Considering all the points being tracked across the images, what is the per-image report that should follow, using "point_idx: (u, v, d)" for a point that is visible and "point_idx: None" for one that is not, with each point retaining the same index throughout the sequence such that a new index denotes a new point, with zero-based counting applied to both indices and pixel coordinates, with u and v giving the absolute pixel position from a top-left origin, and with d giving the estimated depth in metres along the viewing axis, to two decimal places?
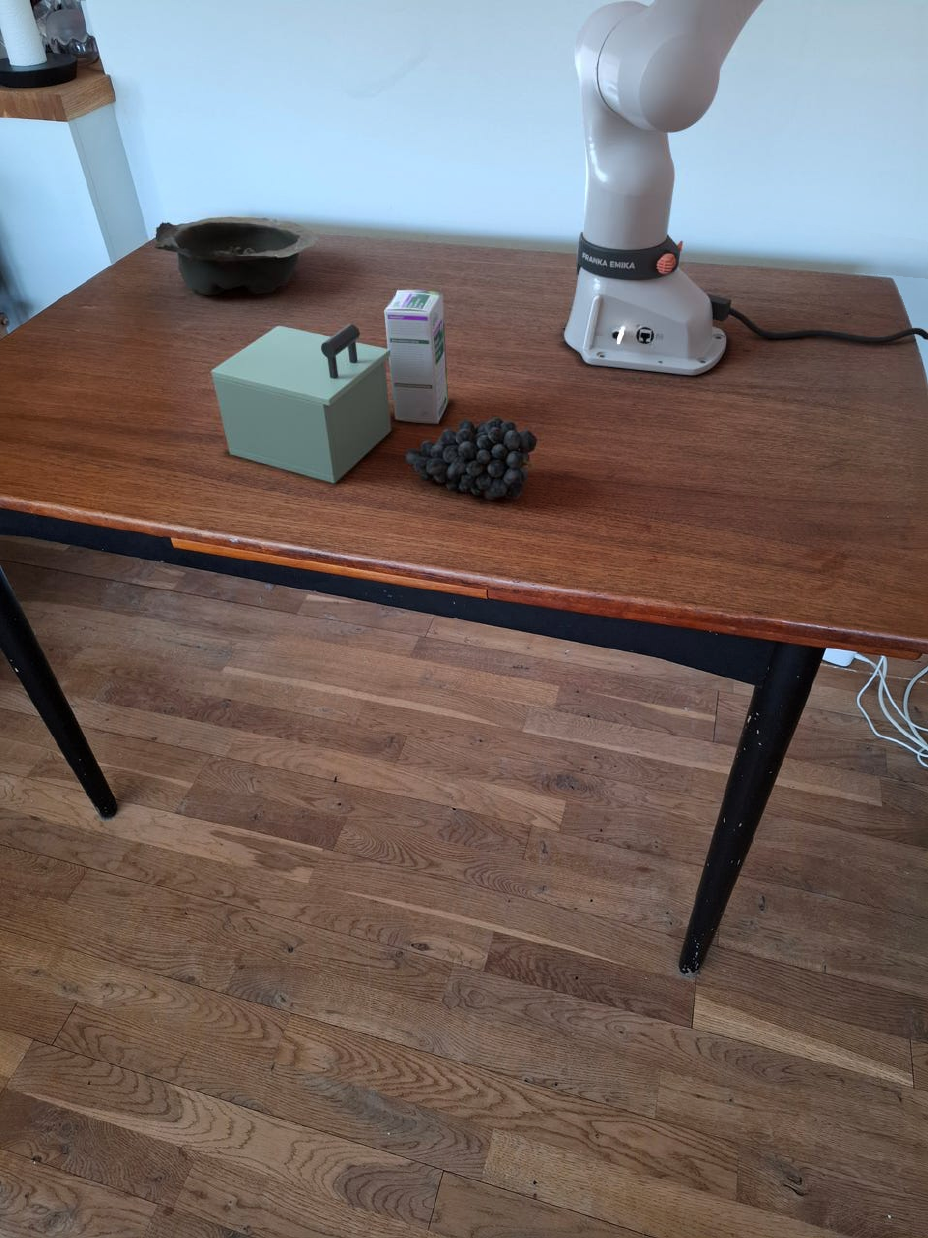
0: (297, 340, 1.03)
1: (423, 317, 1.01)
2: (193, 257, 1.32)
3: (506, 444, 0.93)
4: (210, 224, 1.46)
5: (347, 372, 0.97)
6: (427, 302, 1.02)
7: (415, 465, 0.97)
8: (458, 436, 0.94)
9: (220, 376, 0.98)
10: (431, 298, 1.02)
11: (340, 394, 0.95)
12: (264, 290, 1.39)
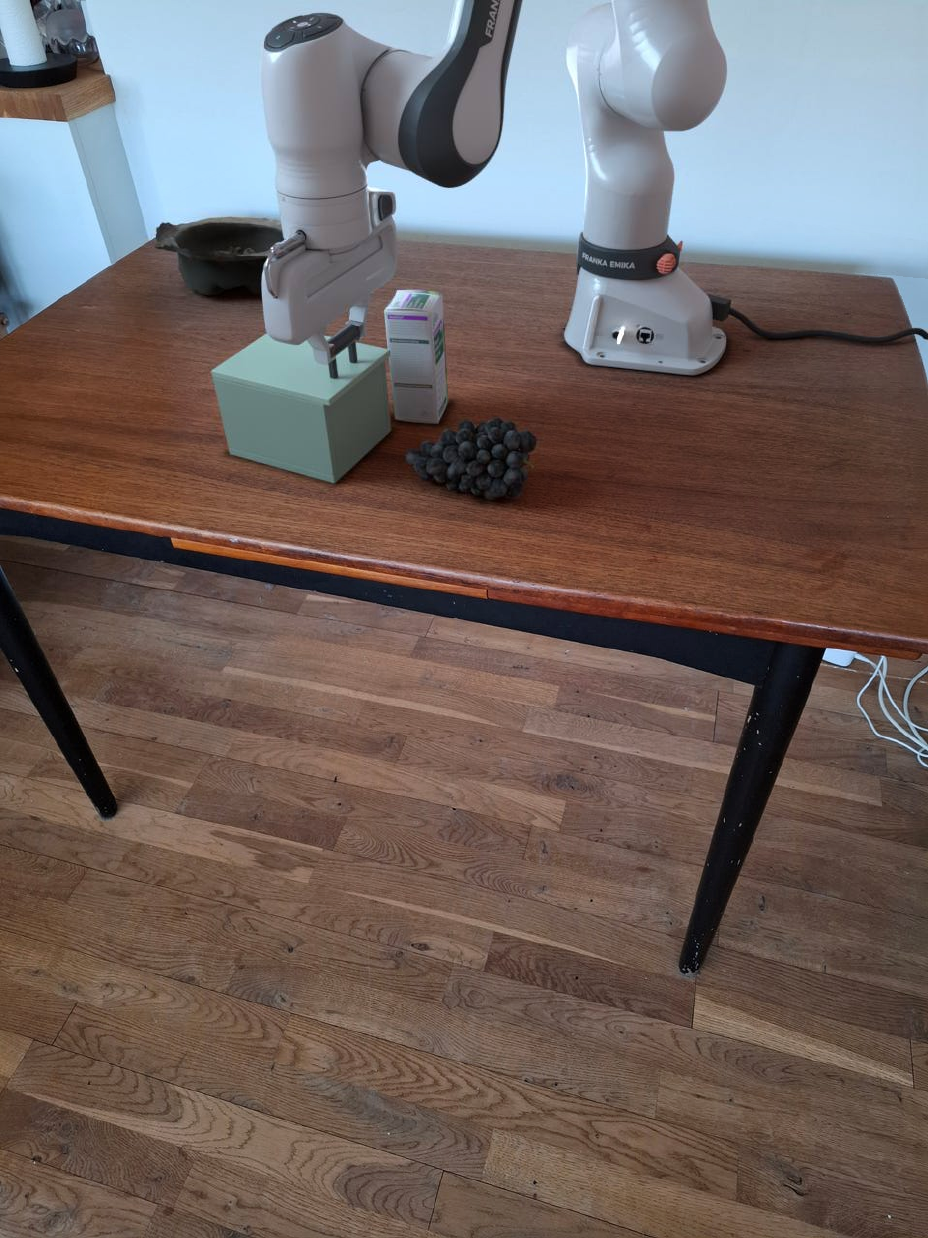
0: None
1: (423, 317, 1.01)
2: (193, 257, 1.32)
3: (506, 444, 0.93)
4: (210, 225, 1.46)
5: (347, 372, 0.97)
6: (427, 302, 1.02)
7: (415, 465, 0.97)
8: (458, 436, 0.94)
9: (220, 376, 0.98)
10: (431, 298, 1.02)
11: (340, 394, 0.95)
12: None
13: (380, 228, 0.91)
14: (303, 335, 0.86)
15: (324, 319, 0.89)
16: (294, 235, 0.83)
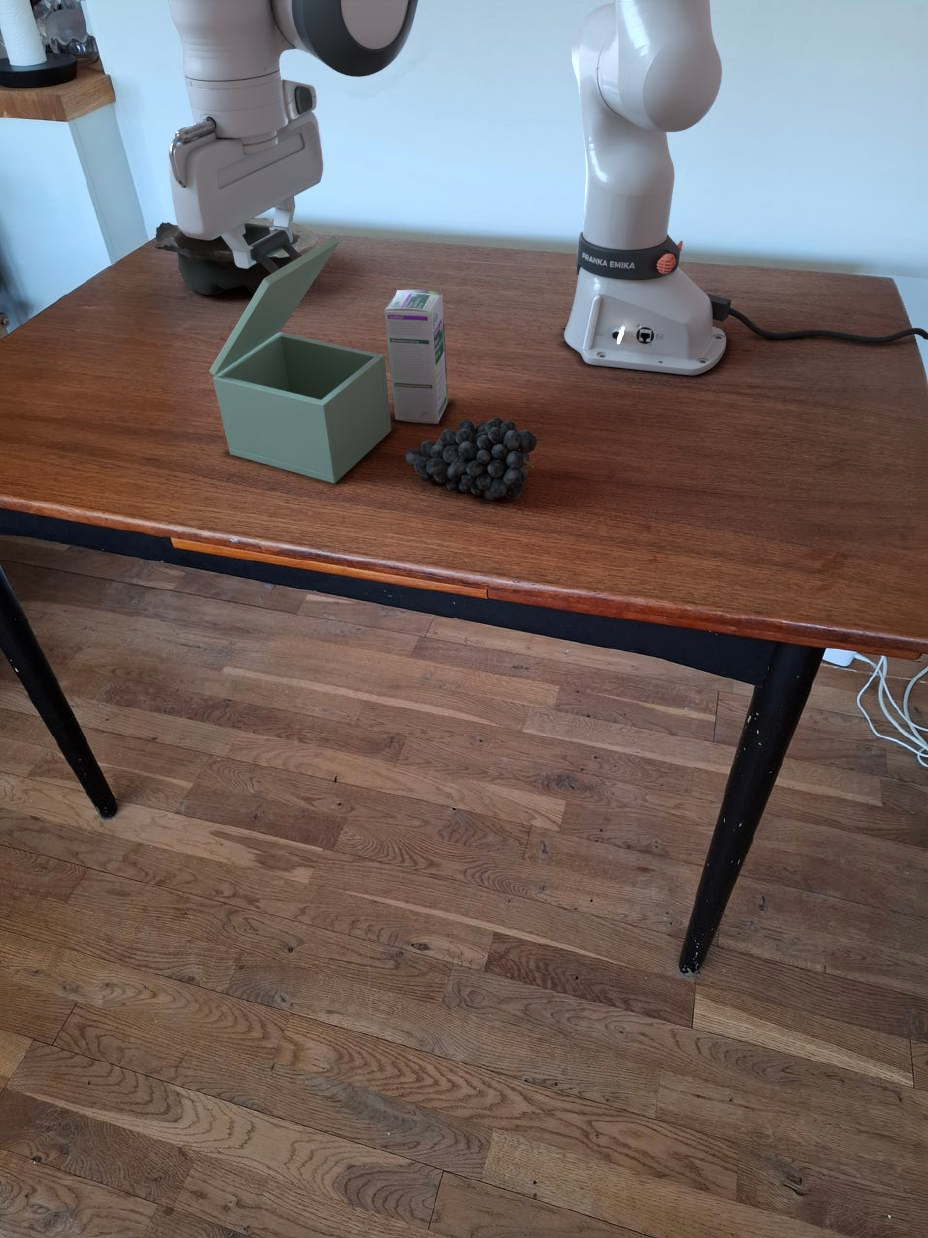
0: None
1: (423, 317, 1.01)
2: (193, 257, 1.32)
3: (506, 444, 0.93)
4: None
5: None
6: (427, 302, 1.02)
7: (415, 465, 0.97)
8: (458, 436, 0.94)
9: (215, 367, 0.98)
10: (431, 298, 1.02)
11: (279, 274, 0.88)
12: None
13: (299, 123, 0.88)
14: (216, 229, 0.83)
15: (239, 216, 0.85)
16: (202, 121, 0.80)
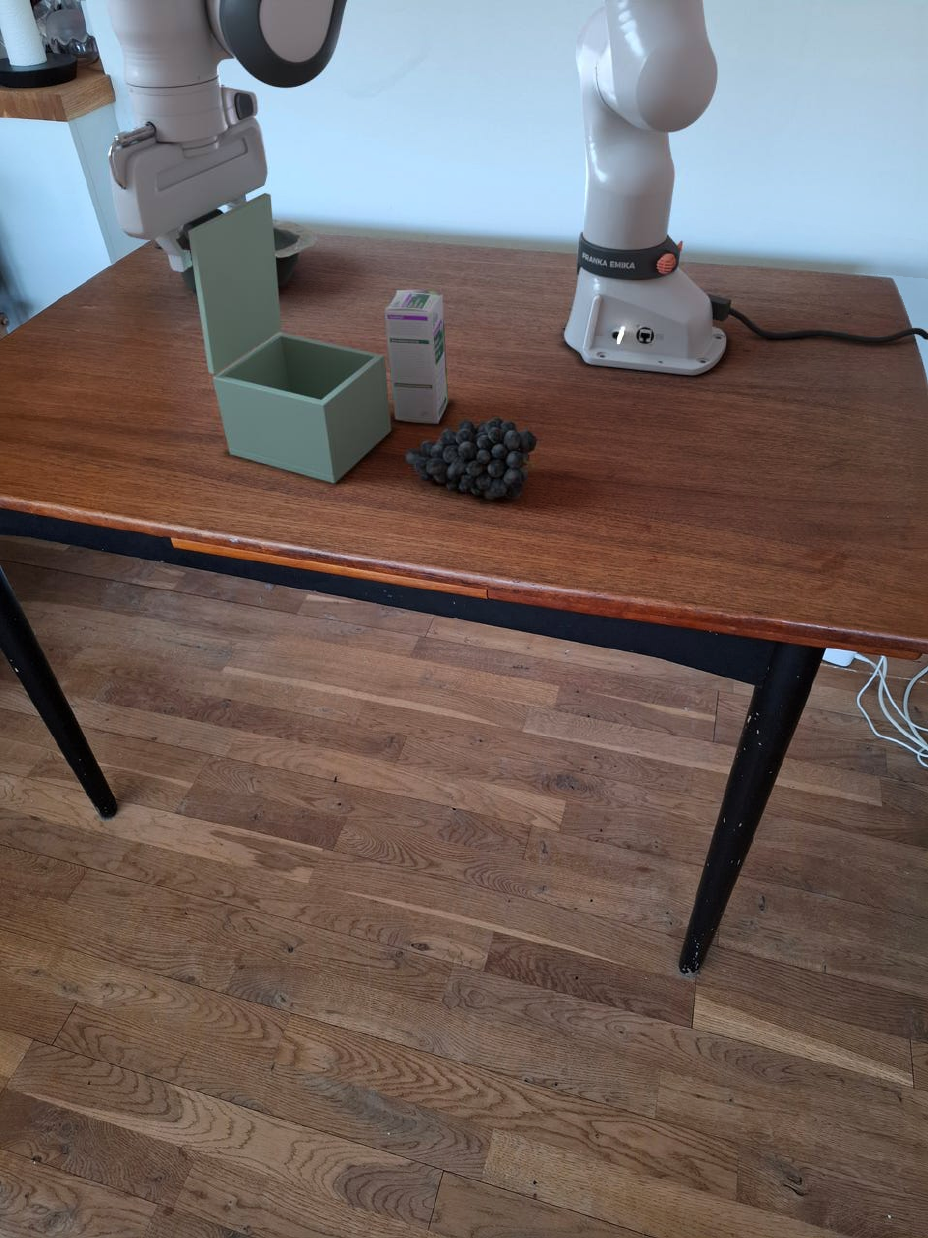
0: None
1: (423, 317, 1.01)
2: None
3: (506, 444, 0.93)
4: None
5: None
6: (427, 302, 1.02)
7: (415, 465, 0.97)
8: (458, 436, 0.94)
9: (210, 364, 0.98)
10: (431, 298, 1.02)
11: (205, 224, 0.89)
12: None
13: (241, 128, 0.91)
14: (156, 229, 0.86)
15: (180, 217, 0.89)
16: (142, 126, 0.83)
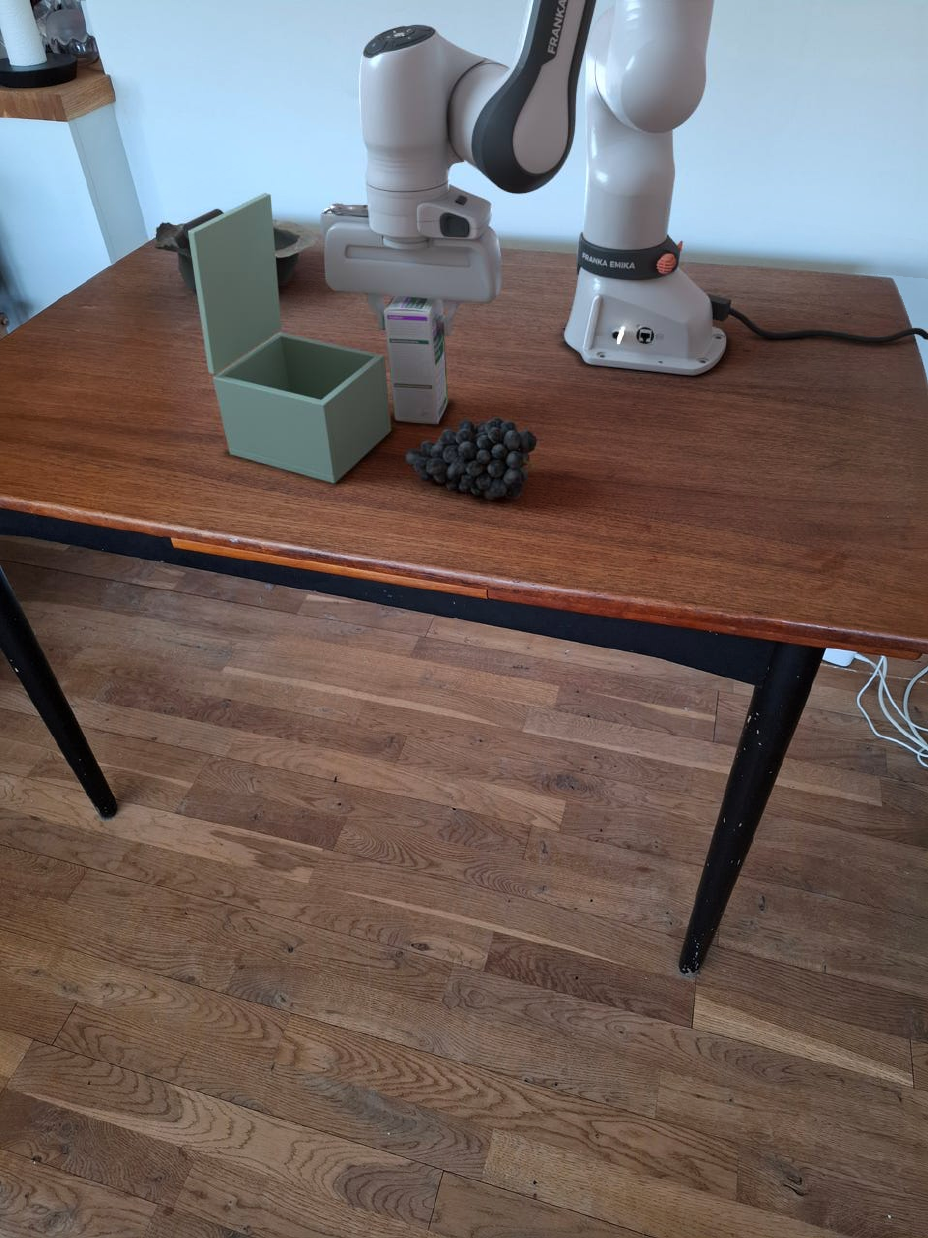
0: None
1: (422, 317, 1.00)
2: None
3: (506, 444, 0.93)
4: None
5: None
6: (426, 302, 1.02)
7: (415, 465, 0.97)
8: (458, 436, 0.94)
9: (210, 364, 0.98)
10: (430, 299, 1.02)
11: (205, 224, 0.89)
12: None
13: (451, 244, 0.94)
14: (336, 284, 1.01)
15: (366, 286, 1.01)
16: (359, 205, 0.96)
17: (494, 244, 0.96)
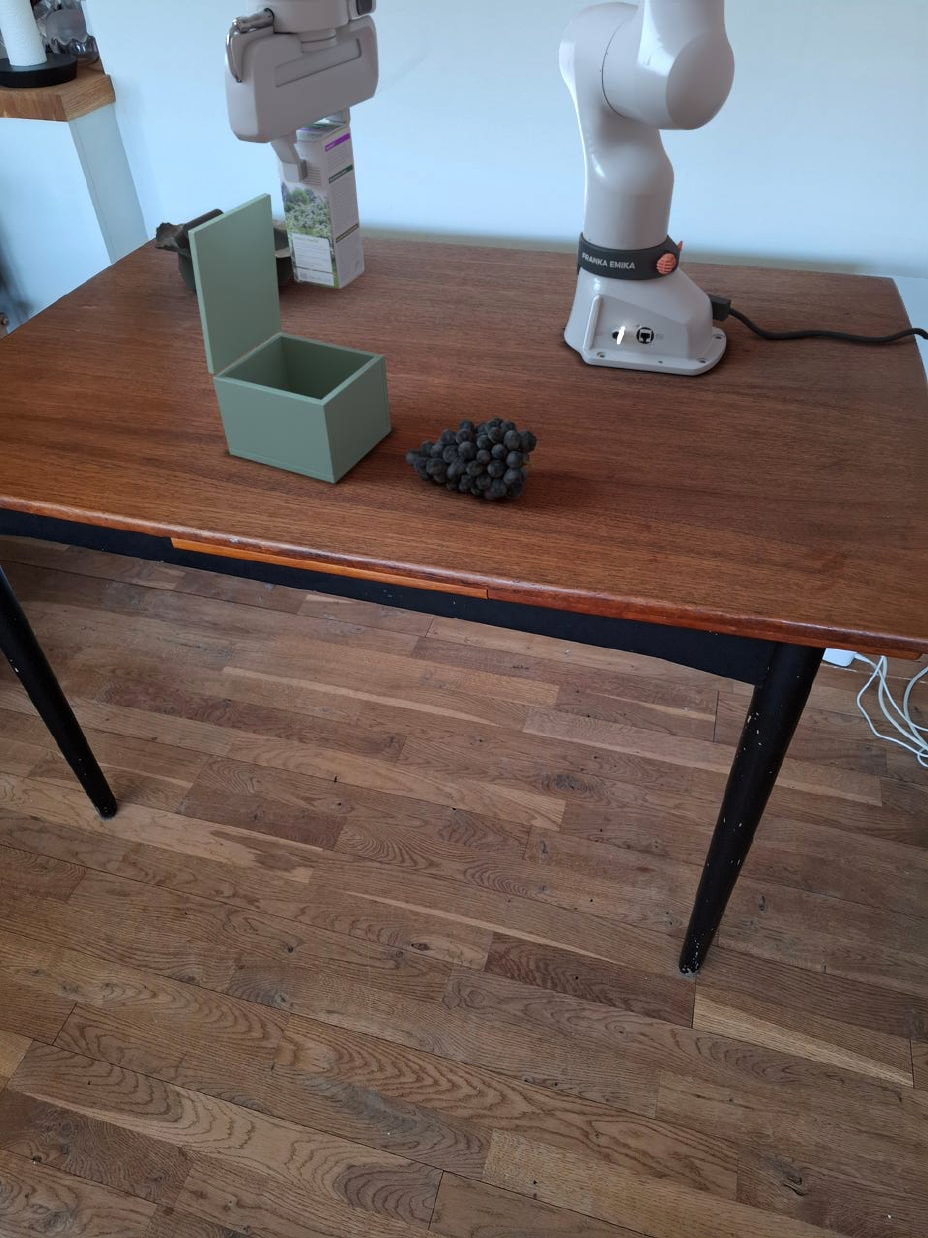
0: None
1: (347, 135, 0.86)
2: None
3: (506, 444, 0.93)
4: None
5: None
6: (325, 124, 0.86)
7: (415, 465, 0.97)
8: (458, 436, 0.94)
9: (210, 364, 0.98)
10: (317, 122, 0.87)
11: (205, 224, 0.89)
12: None
13: (358, 26, 0.83)
14: (271, 131, 0.78)
15: (295, 120, 0.80)
16: (260, 11, 0.75)
17: None
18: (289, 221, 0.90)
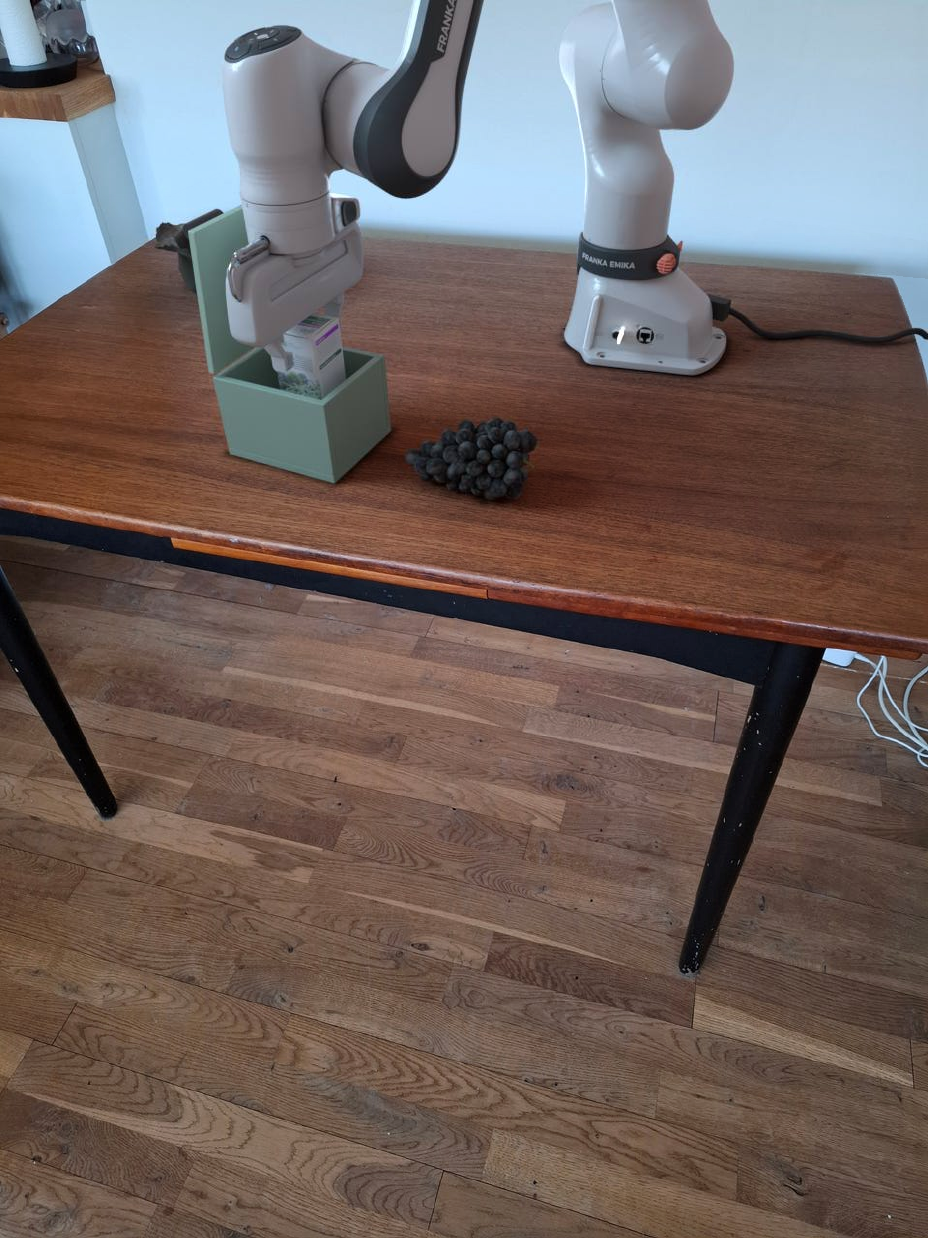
0: None
1: (335, 326, 0.97)
2: None
3: (506, 444, 0.93)
4: None
5: None
6: (317, 316, 0.97)
7: (415, 465, 0.97)
8: (458, 436, 0.94)
9: (210, 364, 0.98)
10: None
11: (205, 224, 0.89)
12: None
13: (344, 233, 0.93)
14: (267, 338, 0.89)
15: (288, 323, 0.91)
16: (257, 240, 0.85)
17: None
18: None
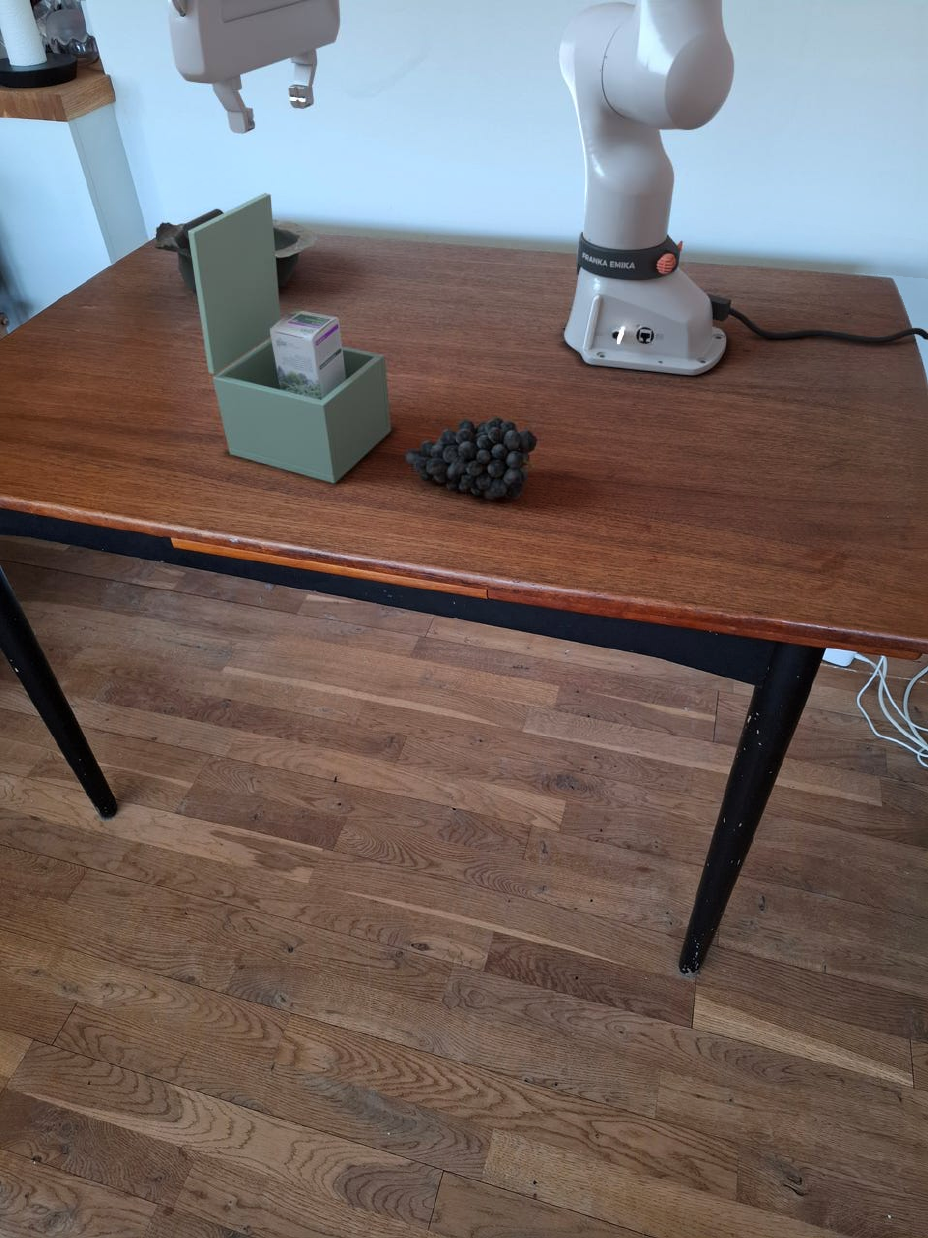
0: None
1: (335, 326, 0.97)
2: None
3: (506, 444, 0.93)
4: None
5: None
6: (317, 316, 0.97)
7: (415, 465, 0.97)
8: (458, 436, 0.94)
9: (210, 364, 0.98)
10: (309, 314, 0.98)
11: (205, 224, 0.89)
12: None
13: None
14: (219, 70, 0.73)
15: (246, 60, 0.75)
16: None
17: None
18: None
